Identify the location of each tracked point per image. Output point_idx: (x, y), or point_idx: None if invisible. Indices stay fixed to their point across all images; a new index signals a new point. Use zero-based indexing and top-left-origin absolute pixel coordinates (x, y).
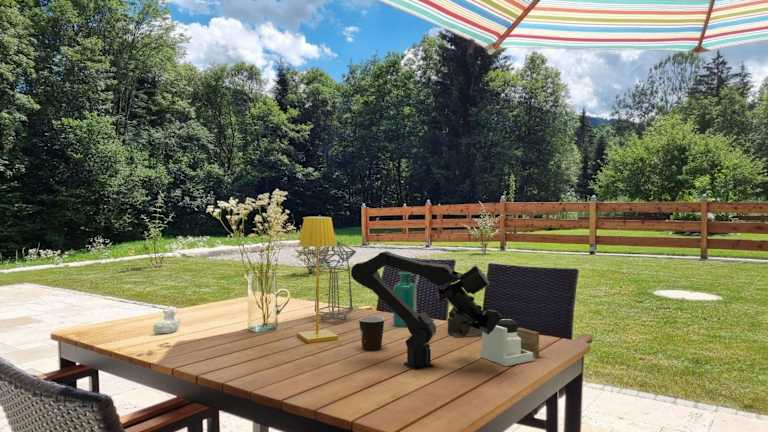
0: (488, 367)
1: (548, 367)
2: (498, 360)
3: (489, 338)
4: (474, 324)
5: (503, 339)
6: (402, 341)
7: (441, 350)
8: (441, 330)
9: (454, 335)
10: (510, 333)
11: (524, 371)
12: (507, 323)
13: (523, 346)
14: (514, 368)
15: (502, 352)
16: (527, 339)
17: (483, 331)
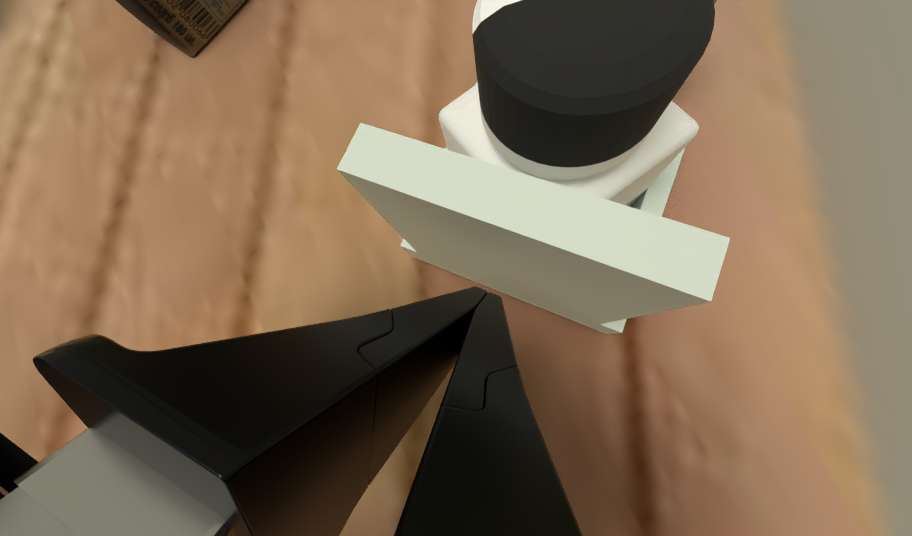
0: (531, 404)
1: (797, 197)
2: (549, 308)
3: (466, 253)
4: (335, 534)
5: (647, 313)
6: (5, 257)
7: (207, 274)
8: (109, 4)
9: (181, 49)
10: (637, 143)
11: (734, 349)
12: (649, 80)
13: None
14: (658, 331)
15: (597, 317)
16: None
17: (448, 369)
